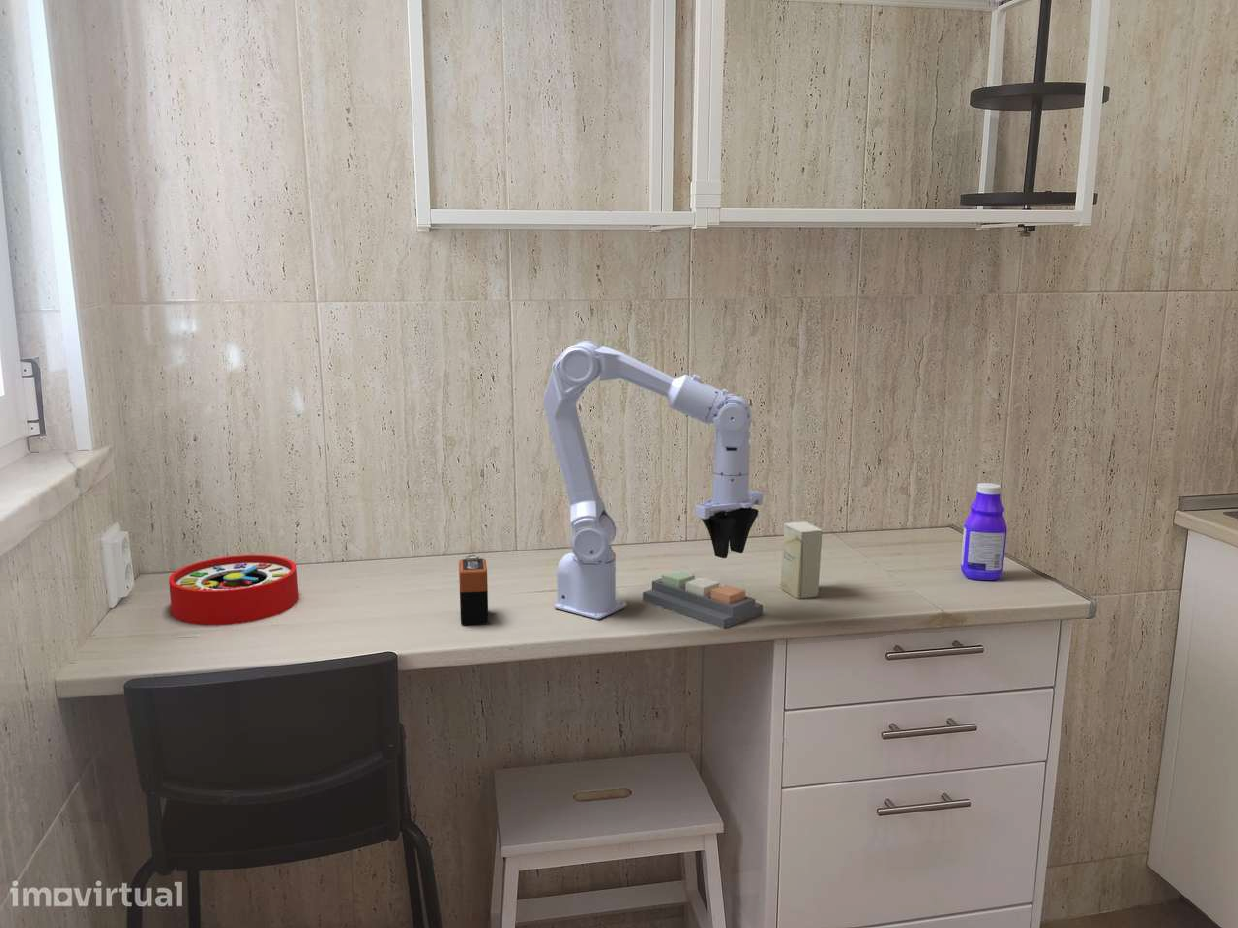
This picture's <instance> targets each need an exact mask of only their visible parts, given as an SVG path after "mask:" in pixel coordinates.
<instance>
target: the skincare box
mask: <svg viewBox="0 0 1238 928" xmlns="http://www.w3.org/2000/svg"><path fill="white" fill-rule="evenodd" d="M783 524H784V525H783V540H782V541H783V542H782V544H783V545H782V557H781V558H782V559H781V575H780V589H781V590H783V591H784V592H786V593H788V594H789V595H791V597H794V598H795V599H797V600H798V599H805V598H806V599H807V598H815V597H818V596H819V589H820V588H819V586H820V585H819V584H820V573H821V572H820V571H821V559H822V547H823V546H822V545H823V531H824V530H823V529H822V528H821V527H819V526H816V525H814V524H812V523H810V522H808V521H806V520H801V521H789V522H788V521H787V522H784V523H783Z"/></svg>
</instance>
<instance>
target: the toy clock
mask: <svg viewBox="0 0 1238 928" xmlns="http://www.w3.org/2000/svg"><path fill="white" fill-rule="evenodd" d="M297 571H298V568H297V564H296V562H294V561H292V560H291V559H289V558H286V557H281V556H276V555H268V554H244V555H243V554H242V555H241V554H240V555H239V554H238V555H230V556H229V555H228V556H222V557H215V558H210V559H205V560H201V561H198V562H195V563H192V564H188V565H185V566H183V567H182V568H179V569H177V570H176V571H174V572H173V573H171V575H170V576H169V578H168V585H169V595H170V604H171V605H170V607H171V614H172V616H173V617H174V618H175V619H176V620H178V621H181V622H184V623H187V624H192V625H193V624H194V625H201V626H227V625H229V626H230V625H237V624H238V625H239V624H244V623H245V624H246V623H249V622H256V621H260V620H263V619H268V618H271V617H274V616H277V615H279V614H282V613H284V612H286V611H288V610H289V609H291V608H293V607H294V606H295V605H297V603H298V601H299V598H300V597H299V596H300V595H299V586H298V572H297Z"/></svg>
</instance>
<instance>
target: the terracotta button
mask: <svg viewBox="0 0 1238 928" xmlns="http://www.w3.org/2000/svg"><path fill="white" fill-rule="evenodd" d="M745 596H746V590H745V589H743V588H739V587H735V586H732V585H730V584H724V585H721V586H719V587H718V588H715V589H712V590H711V592H710V599H713V600H716V601H719V602H722V603H725V604H729V605H730V604H733V603H736V602H739V601H741V600H744V599H745Z"/></svg>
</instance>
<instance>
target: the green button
mask: <svg viewBox="0 0 1238 928" xmlns="http://www.w3.org/2000/svg"><path fill="white" fill-rule="evenodd" d="M695 577H696V576H695V574H692V573H689V572H686V571H682V570H679V569H676V570H673V571H670V572H666V573H664V574H663V573H662V574H661V578H662V583H663V584H666V585H669V586H672V587H676V588H682V587H685V584H686V582H688V581H691V580H694V579H696V578H695Z"/></svg>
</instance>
